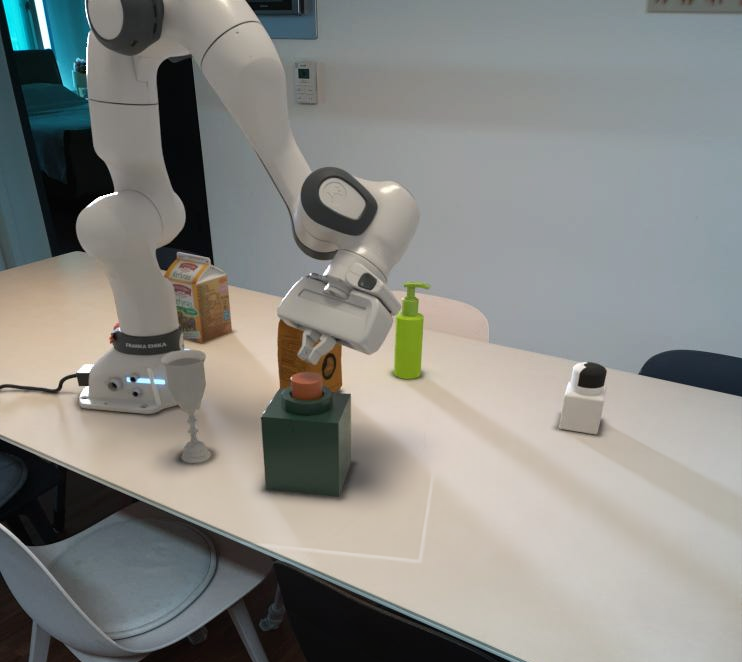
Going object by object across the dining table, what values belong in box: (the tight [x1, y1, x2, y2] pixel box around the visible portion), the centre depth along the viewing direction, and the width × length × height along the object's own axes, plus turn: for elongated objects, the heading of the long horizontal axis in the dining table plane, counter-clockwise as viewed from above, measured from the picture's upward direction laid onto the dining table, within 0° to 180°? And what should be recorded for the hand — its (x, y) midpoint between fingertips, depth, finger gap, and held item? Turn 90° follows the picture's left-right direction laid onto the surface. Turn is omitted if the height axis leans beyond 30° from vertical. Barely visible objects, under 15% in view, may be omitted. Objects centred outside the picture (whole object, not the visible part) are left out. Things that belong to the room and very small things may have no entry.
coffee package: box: [276, 318, 343, 393], centre depth 142 cm, size 10×12×22 cm
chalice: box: [161, 349, 212, 464], centre depth 121 cm, size 7×7×18 cm
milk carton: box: [163, 251, 233, 344], centre depth 174 cm, size 11×11×19 cm
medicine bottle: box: [558, 361, 608, 435], centre depth 136 cm, size 7×7×12 cm
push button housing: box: [260, 386, 352, 497], centre depth 116 cm, size 12×11×15 cm
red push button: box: [291, 372, 323, 400], centre depth 112 cm, size 5×5×3 cm
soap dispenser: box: [393, 281, 432, 380], centre depth 154 cm, size 6×7×20 cm
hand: (305, 360), depth 109 cm, fingers closed
